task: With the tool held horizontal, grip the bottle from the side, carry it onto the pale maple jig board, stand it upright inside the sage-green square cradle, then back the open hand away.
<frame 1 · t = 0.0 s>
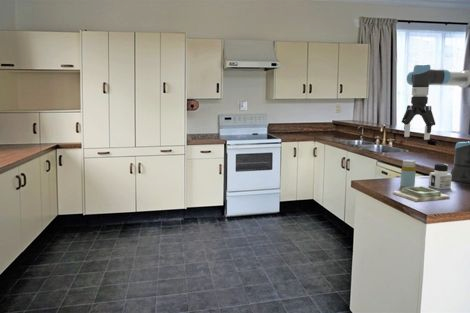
hand: (416, 138, 192), 28 cm above the counter, tool pointing down, fingers open, 13 cm apart
bottle: (407, 188, 204), on the counter
container: (439, 187, 206), on the counter
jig: (420, 195, 188), on the counter
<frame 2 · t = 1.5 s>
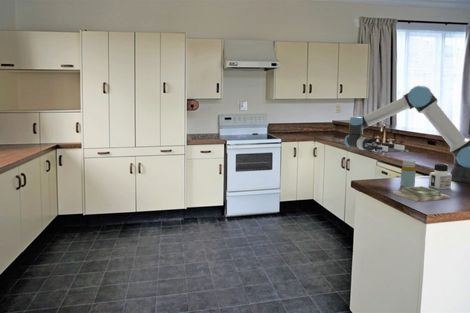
hand: (396, 148, 209), 20 cm above the counter, tool horizontal, fingers open, 13 cm apart
nothing on the counter moved.
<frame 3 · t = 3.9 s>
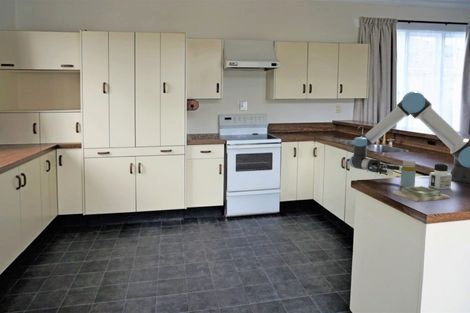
hand: (401, 171, 207), 8 cm above the counter, tool horizontal, fingers open, 13 cm apart
nothing on the counter moved.
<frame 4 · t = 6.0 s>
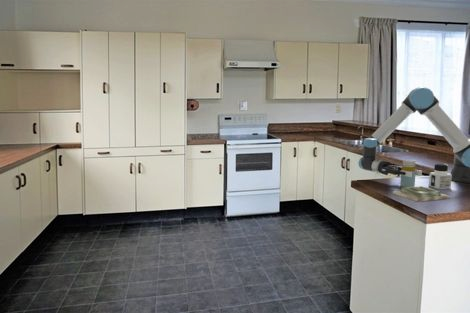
hand: (416, 174, 199), 9 cm above the counter, tool horizontal, fingers closed on bottle, 7 cm apart
bottle: (407, 188, 204), on the counter, touching gripper
everything else where it was.
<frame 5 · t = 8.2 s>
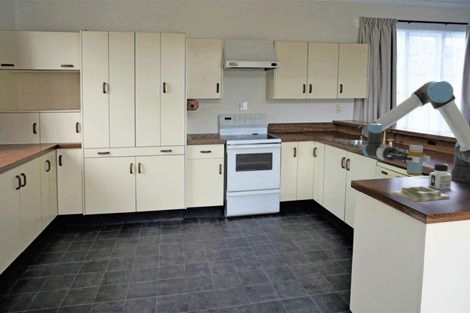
hand: (424, 159, 187), 18 cm above the counter, tool horizontal, fingers closed on bottle, 7 cm apart
bottle: (414, 174, 193), point 9 cm above the counter, touching gripper
everything else where it was.
when the fingers open (11 cm above the counter, at t = 10.4 s): bottle drops 1 cm, resting on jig.
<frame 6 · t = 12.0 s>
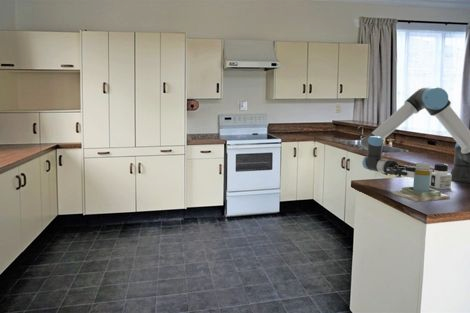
hand: (423, 173, 185), 11 cm above the counter, tool horizontal, fingers open, 13 cm apart
bottle: (420, 193, 187), point 1 cm above the counter, touching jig
everything else where it was.
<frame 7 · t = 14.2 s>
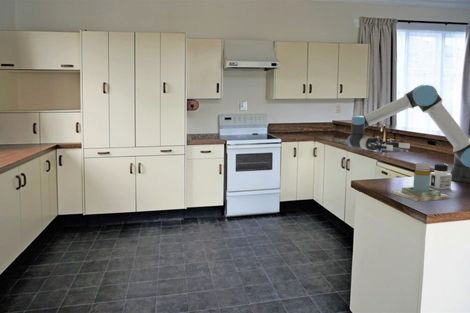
hand: (401, 147, 202), 22 cm above the counter, tool horizontal, fingers open, 13 cm apart
nothing on the counter moved.
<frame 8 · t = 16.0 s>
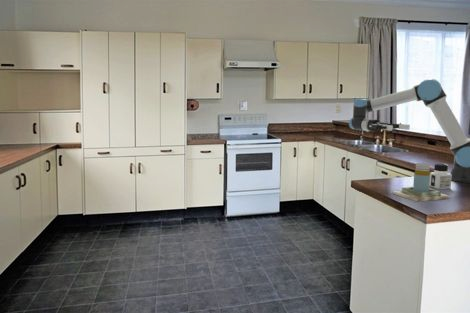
hand: (400, 127, 208), 32 cm above the counter, tool horizontal, fingers open, 13 cm apart
nothing on the counter moved.
at the end: bottle 0.1 cm off-centre on the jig, point 1.0 cm above the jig's base; bottle tilted 0°; the gripper is holding nothing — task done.
